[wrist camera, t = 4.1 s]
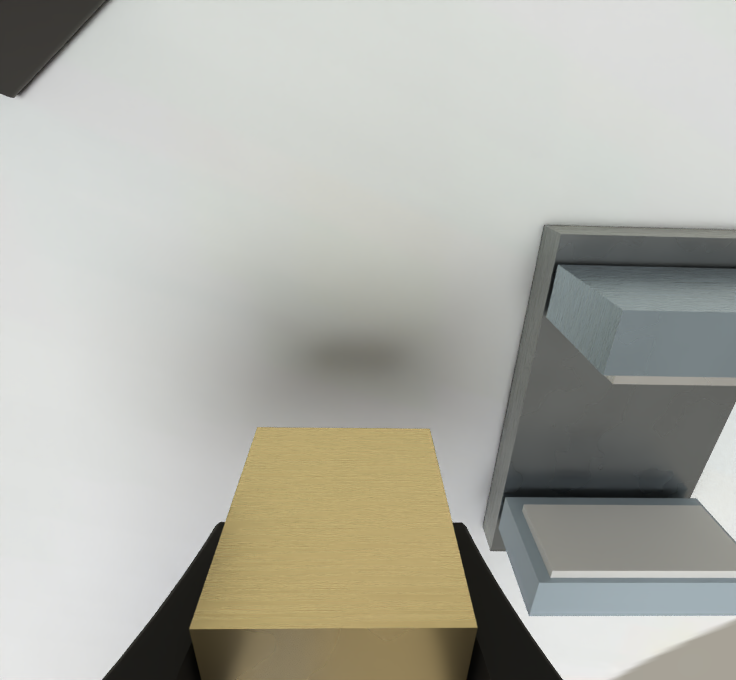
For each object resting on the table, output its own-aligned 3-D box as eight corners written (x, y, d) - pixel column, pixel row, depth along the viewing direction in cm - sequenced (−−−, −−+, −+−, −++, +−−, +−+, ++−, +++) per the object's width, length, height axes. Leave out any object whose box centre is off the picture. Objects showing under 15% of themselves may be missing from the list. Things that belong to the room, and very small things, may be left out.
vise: (647, 527, 24) (731, 644, 18) (482, 526, 24) (520, 645, 18) (776, 231, 17) (972, 281, 11) (544, 225, 17) (634, 273, 11)
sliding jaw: (681, 528, 21) (751, 615, 18) (498, 528, 21) (529, 615, 17) (699, 492, 20) (777, 575, 17) (507, 490, 20) (541, 575, 16)
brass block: (417, 538, 13) (450, 755, 8) (268, 538, 13) (220, 758, 8) (429, 428, 11) (477, 627, 7) (257, 427, 11) (189, 629, 7)
